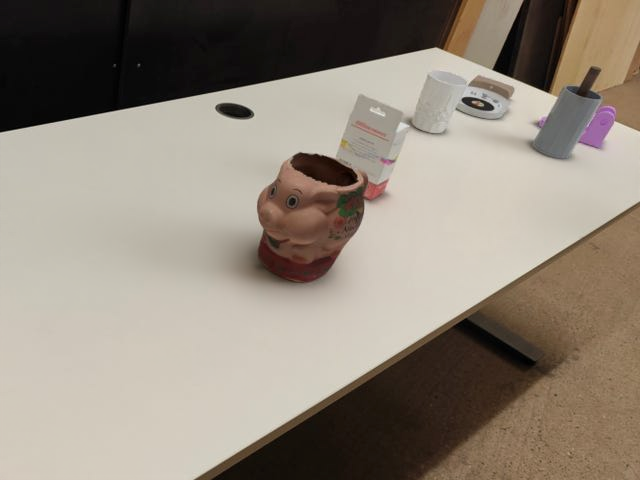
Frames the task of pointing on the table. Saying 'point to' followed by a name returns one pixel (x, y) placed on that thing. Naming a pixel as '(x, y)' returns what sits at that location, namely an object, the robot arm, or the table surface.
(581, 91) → the brush
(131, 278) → the table surface
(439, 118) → the white cup
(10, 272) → the table surface
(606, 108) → the bracket
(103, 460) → the table surface
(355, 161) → the ink cartridge box
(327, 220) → the decorative planter
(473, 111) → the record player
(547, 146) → the grey cylindrical holder
